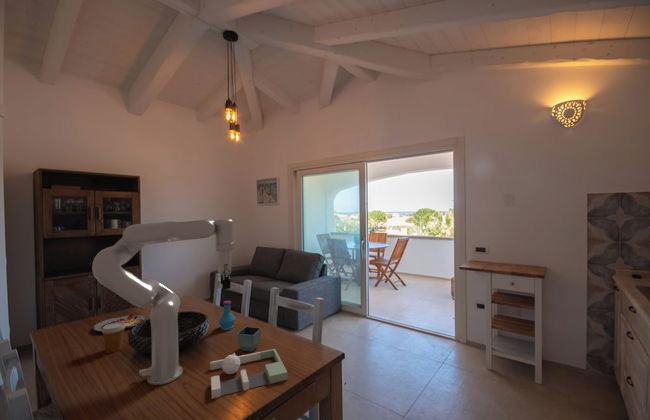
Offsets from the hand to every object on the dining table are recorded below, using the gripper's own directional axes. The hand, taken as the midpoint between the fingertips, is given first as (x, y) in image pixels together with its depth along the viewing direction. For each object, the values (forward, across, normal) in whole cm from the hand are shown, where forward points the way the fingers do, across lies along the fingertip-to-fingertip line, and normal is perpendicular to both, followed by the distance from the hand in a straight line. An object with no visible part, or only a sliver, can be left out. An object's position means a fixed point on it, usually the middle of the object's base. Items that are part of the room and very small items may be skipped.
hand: (225, 286), depth 124 cm
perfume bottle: (+35, -42, +4) cm, 55 cm away
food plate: (+35, -73, -53) cm, 97 cm away
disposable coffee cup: (+34, -38, -49) cm, 71 cm away
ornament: (+35, +8, +1) cm, 35 cm away
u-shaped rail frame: (+34, +12, +7) cm, 37 cm away
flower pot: (+35, -10, +12) cm, 38 cm away
